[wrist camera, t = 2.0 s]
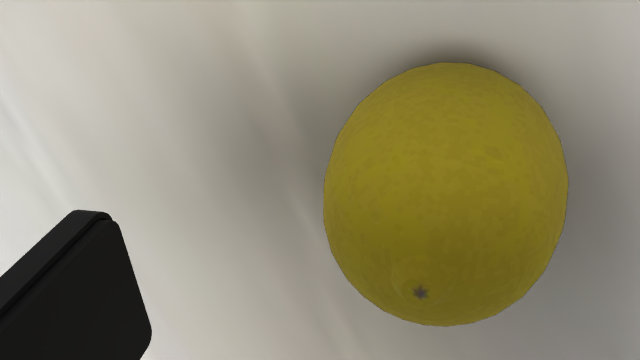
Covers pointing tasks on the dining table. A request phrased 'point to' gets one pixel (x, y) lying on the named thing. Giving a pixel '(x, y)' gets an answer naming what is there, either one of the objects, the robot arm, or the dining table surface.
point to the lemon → (445, 194)
